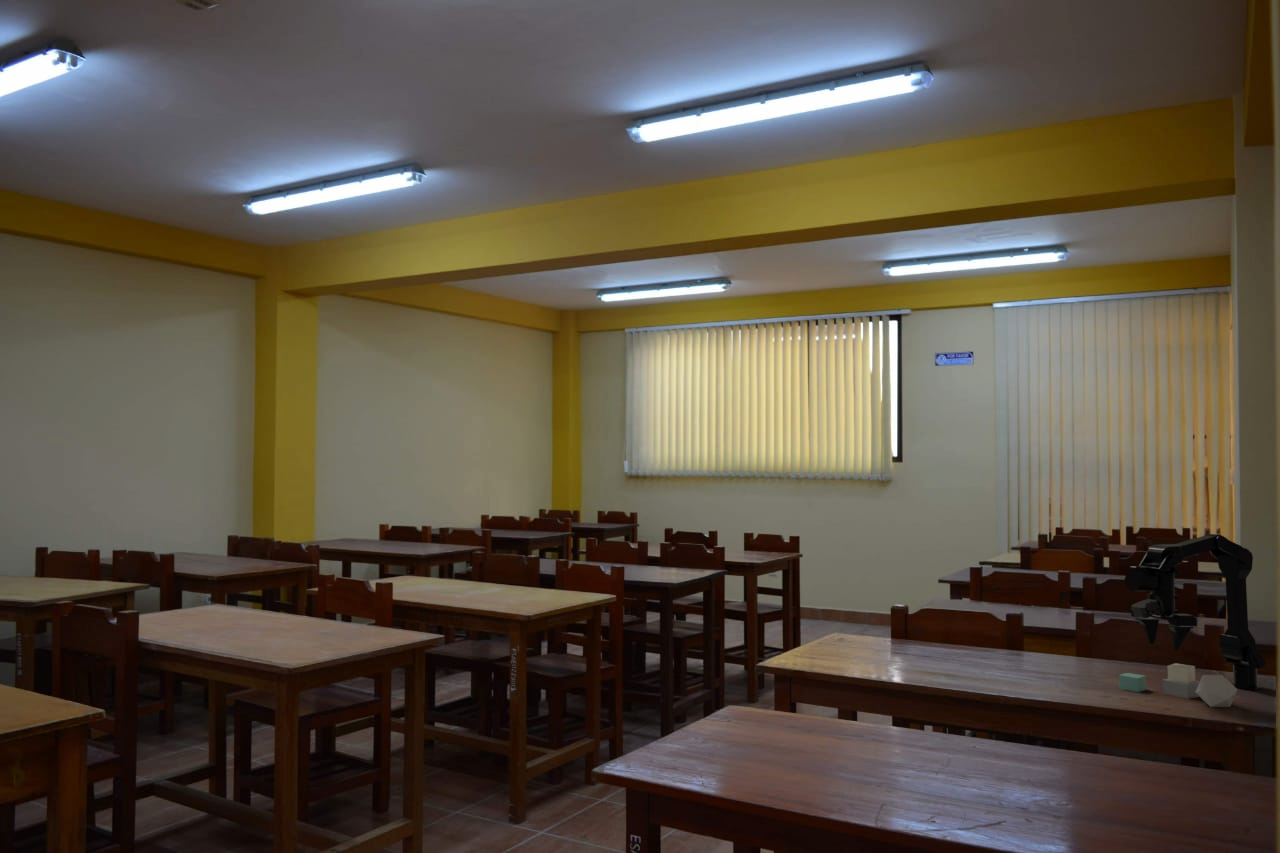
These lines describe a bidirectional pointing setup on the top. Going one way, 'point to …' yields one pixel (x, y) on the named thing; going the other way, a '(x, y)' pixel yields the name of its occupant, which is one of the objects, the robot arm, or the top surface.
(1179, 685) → the base block
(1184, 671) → the cream brick
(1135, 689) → the teal brick
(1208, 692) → the die
